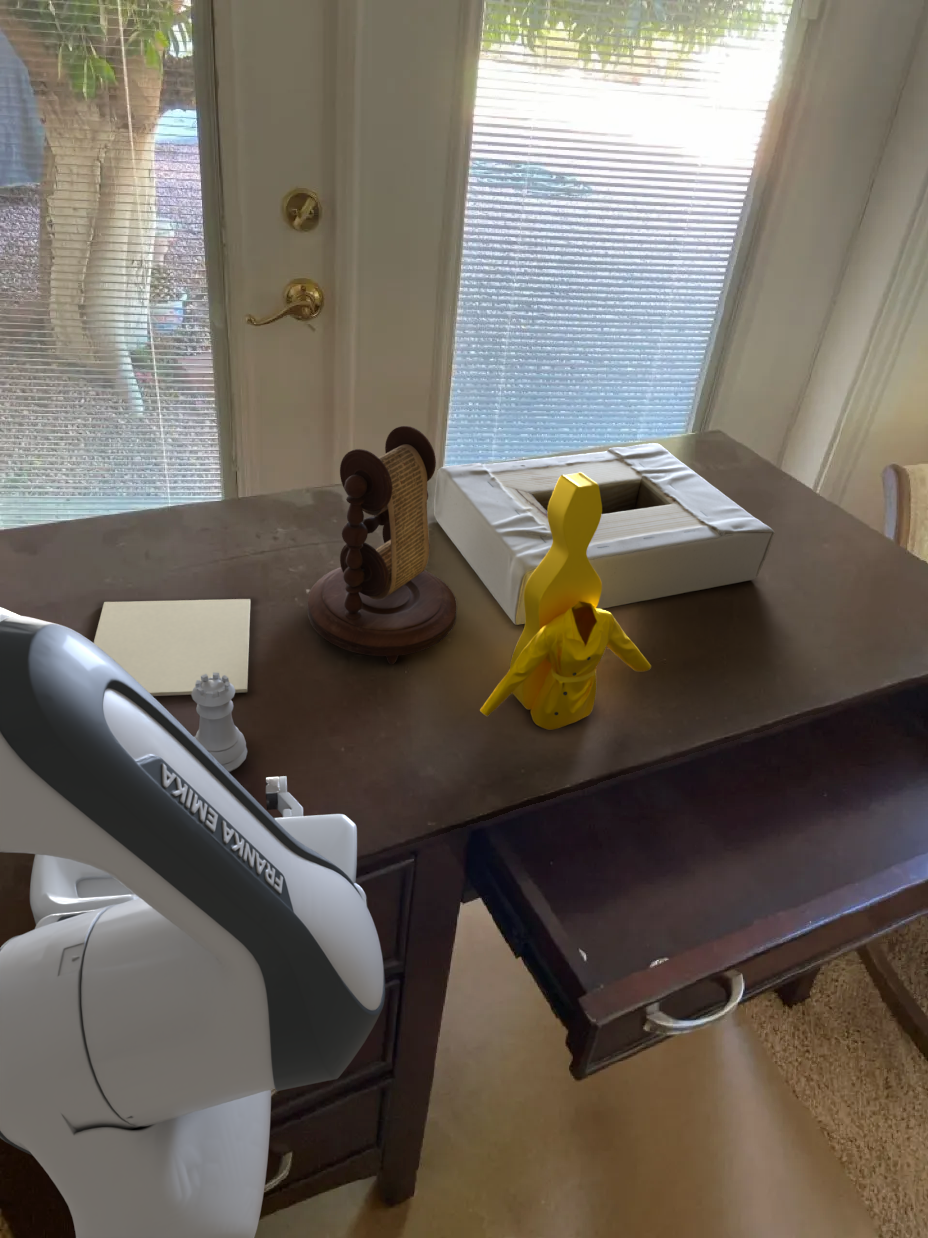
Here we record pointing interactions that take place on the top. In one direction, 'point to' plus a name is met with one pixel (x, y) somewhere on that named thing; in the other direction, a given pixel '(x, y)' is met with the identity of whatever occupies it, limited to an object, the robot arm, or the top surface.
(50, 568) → the top surface
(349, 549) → the scroll
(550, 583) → the yellow coat with case
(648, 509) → the box
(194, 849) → the robot arm
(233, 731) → the rook chess piece
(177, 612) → the linen mat
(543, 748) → the top surface
